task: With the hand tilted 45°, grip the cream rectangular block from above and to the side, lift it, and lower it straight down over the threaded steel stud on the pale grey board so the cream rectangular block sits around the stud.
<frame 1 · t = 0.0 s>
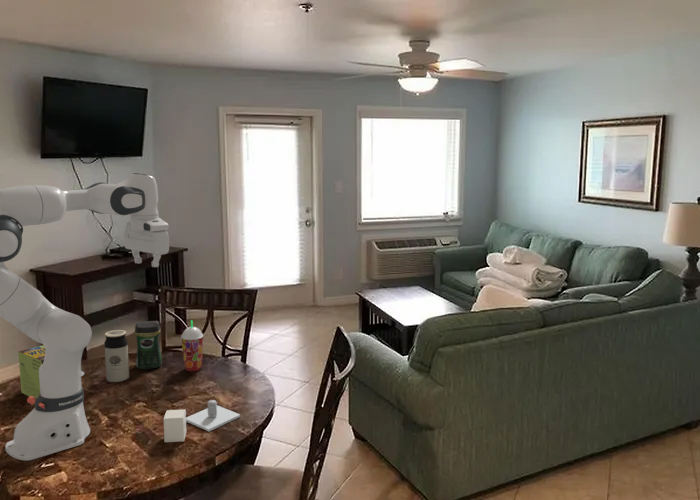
hand: (146, 264, 191), 48 cm above the table, tool pointing down, fingers open, 8 cm apart
french press: (70, 374, 223), on the table
travel mug: (118, 379, 219), on the table
coffee jar: (149, 366, 232), on the table
cream rectangular block: (175, 437, 175), on the table
protein box: (47, 394, 205), on the table
stud board: (212, 418, 187), on the table
smoothie: (193, 369, 230), on the table
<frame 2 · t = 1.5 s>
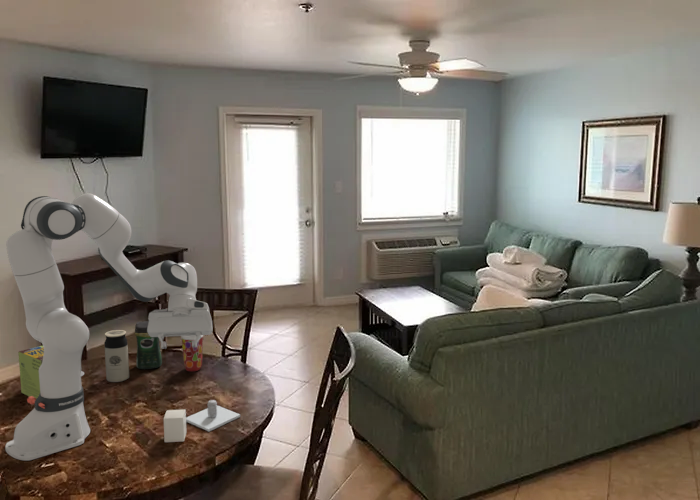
hand: (179, 347, 183), 24 cm above the table, tool tilted 45°, fingers open, 8 cm apart
nothing on the table moved.
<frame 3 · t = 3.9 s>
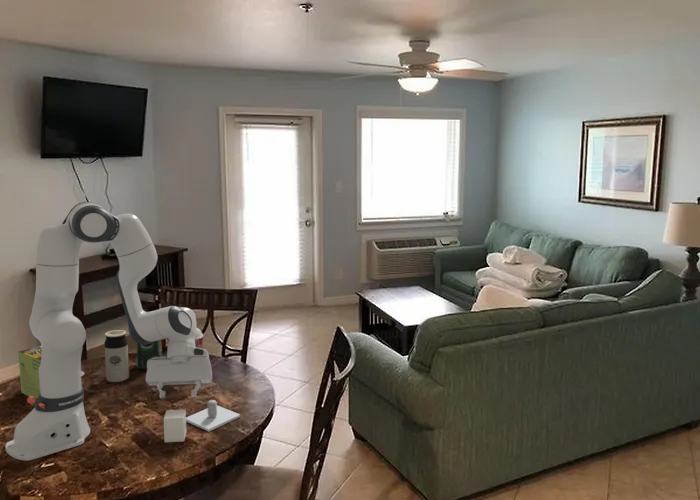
hand: (178, 396, 180), 10 cm above the table, tool tilted 45°, fingers open, 8 cm apart
nothing on the table moved.
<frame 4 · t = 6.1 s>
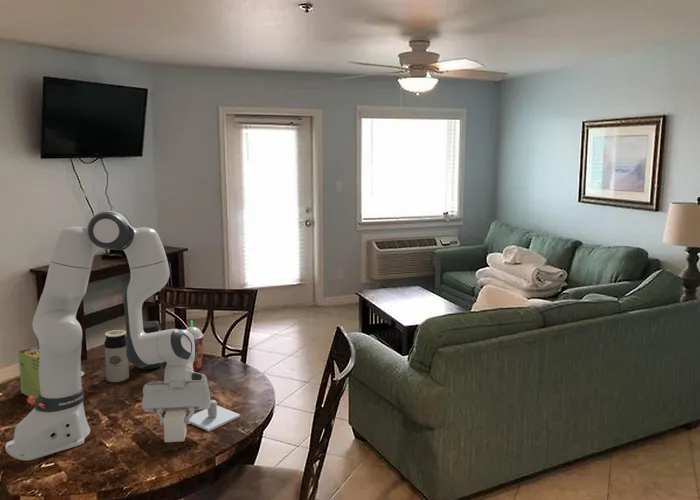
hand: (174, 424, 174), 5 cm above the table, tool tilted 45°, fingers closed on cream rectangular block, 6 cm apart
cream rectangular block: (175, 437, 175), on the table, touching gripper
everything else where it was.
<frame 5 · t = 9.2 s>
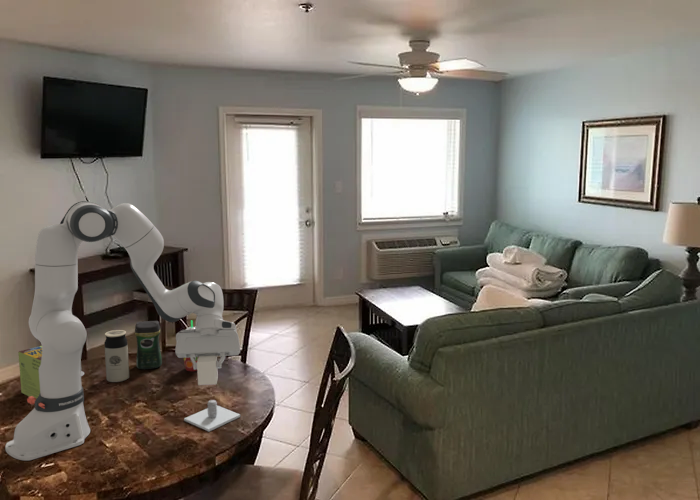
hand: (207, 368, 182), 18 cm above the table, tool tilted 45°, fingers closed on cream rectangular block, 6 cm apart
cream rectangular block: (208, 381, 184), point 13 cm above the table, touching gripper
everything else where it was.
when the fingers open (7 cm above the table, at t = 12.5 s): cream rectangular block drops 1 cm, resting on stud board.
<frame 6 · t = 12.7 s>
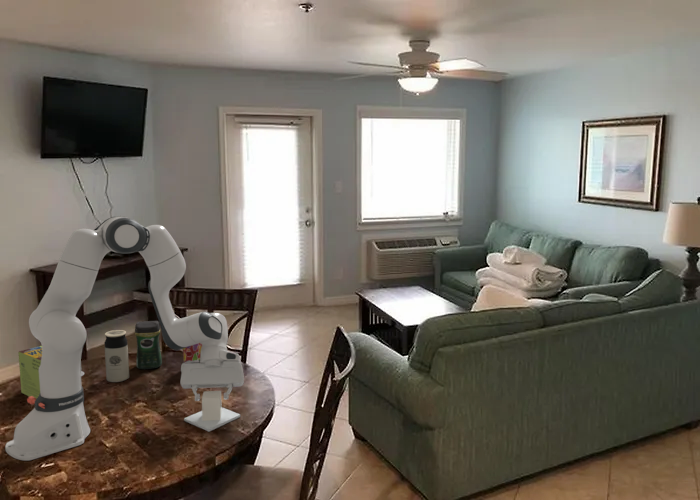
hand: (211, 399, 186), 7 cm above the table, tool tilted 45°, fingers open, 8 cm apart
cream rectangular block: (212, 416, 187), point 1 cm above the table, touching stud board
everything else where it was.
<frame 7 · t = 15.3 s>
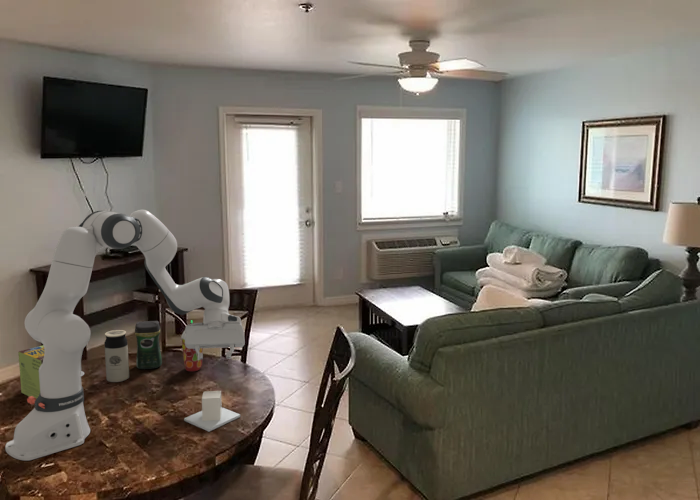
hand: (214, 358, 197), 16 cm above the table, tool tilted 45°, fingers open, 8 cm apart
nothing on the table moved.
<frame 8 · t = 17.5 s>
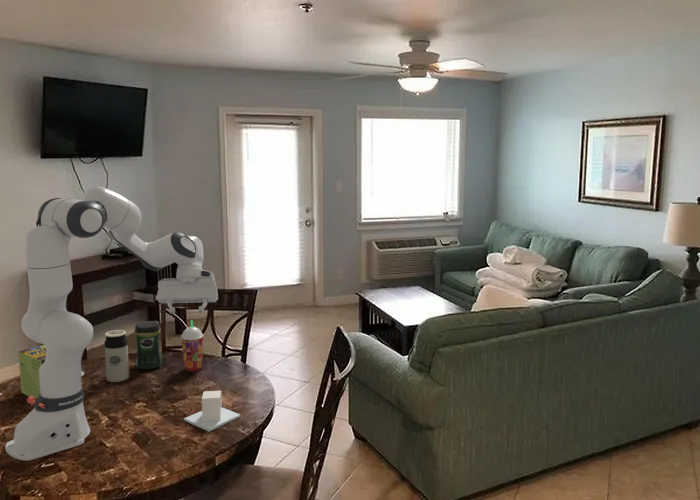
hand: (186, 312, 196), 31 cm above the table, tool tilted 45°, fingers open, 8 cm apart
nothing on the table moved.
at the end: cream rectangular block 0.1 cm from the stud board (horizontally); cream rectangular block point 0.8 cm above the table; cream rectangular block tilted 0° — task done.
